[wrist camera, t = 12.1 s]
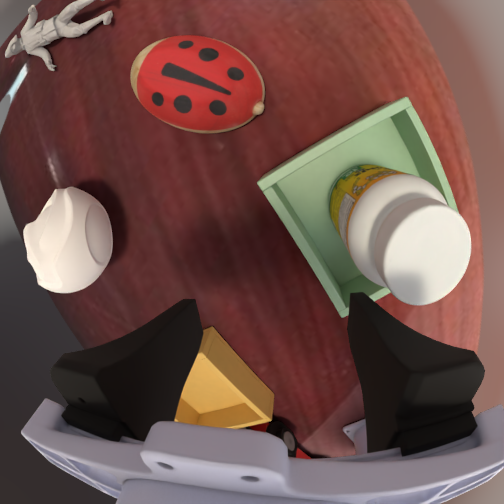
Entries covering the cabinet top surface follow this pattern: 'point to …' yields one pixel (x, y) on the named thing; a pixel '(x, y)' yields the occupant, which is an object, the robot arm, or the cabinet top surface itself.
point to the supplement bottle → (400, 232)
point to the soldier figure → (52, 31)
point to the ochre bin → (223, 389)
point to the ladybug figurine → (198, 84)
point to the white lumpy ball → (69, 241)
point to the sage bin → (327, 172)
